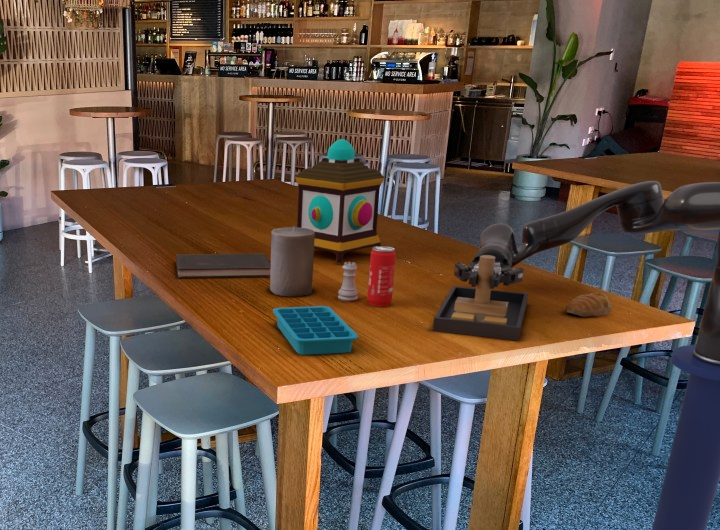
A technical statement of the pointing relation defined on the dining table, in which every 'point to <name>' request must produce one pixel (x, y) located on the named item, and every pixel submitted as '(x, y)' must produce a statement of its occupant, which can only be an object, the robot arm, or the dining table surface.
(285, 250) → the pillar candle
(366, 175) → the decorative lantern
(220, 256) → the hardcover book
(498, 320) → the block
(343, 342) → the ice cube tray
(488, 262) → the brush
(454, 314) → the light wooden block
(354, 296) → the rook chess piece
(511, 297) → the tray
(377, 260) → the beverage can
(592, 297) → the pastry
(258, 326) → the dining table surface
